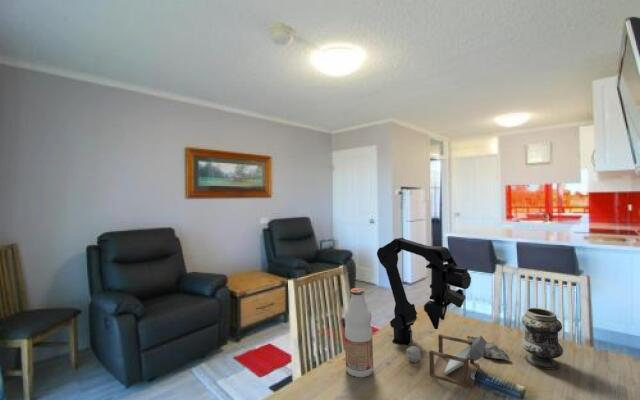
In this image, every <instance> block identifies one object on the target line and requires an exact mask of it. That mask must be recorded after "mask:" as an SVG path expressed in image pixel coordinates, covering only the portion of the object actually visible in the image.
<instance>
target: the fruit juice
mask: <svg viewBox="0 0 640 400" xmlns="http://www.w3.org/2000/svg"><path fill="white" fill-rule="evenodd" d="M365 294H366V290H365V289H364V288H361V287H354V288H351V289H350V296H351V297H350V300H349V305H348V307H347V308H346V309H345V312H344V319H345V322H346V325H345V328H344V344H345V345H344V349H345V350H344V352H345V370H346V372H347V374H349V376H352V377H354V376H355V378H365V377H369V376H370V375H372V373H373V371H374V351H373V350H374V349H373V346H374V345H373V342H374V341H373V328H372V325H371V322H372V311H371V310H370V308H369V306H368V303H367V301H366V298H365Z"/></svg>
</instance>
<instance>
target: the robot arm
mask: <svg viewBox="0 0 640 400" xmlns="http://www.w3.org/2000/svg"><path fill="white" fill-rule="evenodd" d="M402 251H405V252H409V253H411V254H415V255H417V256H419V257H422V258H424V259H425V260H426V261H427V262H429V263H428V264H427V265H425V268H426V269H430V272H431V273H430V274H431V275H430V277H431V278H430V279H431V280H430V283H429V289H431V290H430V292H431V293H430V295H429V300H428V301H426V302H425V304H423V311H424V312H425V313H426V315H427V316H428V319H429V320H430V322H431V324H432V326H433V329H435V330H438V329H439V325H440V320H441V321H444V320H445V318H446V314H447V313H446V312H447V310H448V307H449V305H451V304H453V305H455V306H456V307H457V308H462V307H463V304H464V302H465V300H466V298H467V296H466V295H465V294H464V290H467V289H469V288H470V286H471V282H472V277H471V274H470V273H469V272H468V270H469V269H468V268H465V267H459V266H458V264H457V262H456V260H455V259H454V258H453V256H452V254H451V251H450V250H449V248H448V247H446V246H441V245H440V246H439V245H438V246H437V245H426V244H422V243H420V242H417V241H416V242H415V241H414V240H413V241H412V240H410V239H405V238H404V237H398V238H394V239H393V240H392V241H390V242H389V243H387V244H385V245H384V246H382V247H379V248H378V249H377V251H376V256H377V258H378V260H379V261H378V262H379V263H380V264H381V266H383V268H384V269H385V272H386V275H387V279H388V281H389V285H390V289H391V292H392V296H393V299H394V302H395V304H394V310H393V312H394V313H393V314H394V318H392V319H391V320H389V324H390V327H391V328H392V329H393V339H392V343H395V344H399V345H403V346H410V344H411V343H412V341H413V330H412V328H411V327H412V326H414V325H415V322H416V320H417V318H418V316H417V315H418V312H417V311H416V305H415V304H414V303H412V304H411V303H410V301H408V299H407V295H406V291H405V288H404V285H403V281H402V277H401V274H400V271H399V269H398V262H399V255H398V254H399V253H401V252H402ZM451 286H452V287H456V288H457V289H456V290H455V289H454V290H453V289H451Z"/></svg>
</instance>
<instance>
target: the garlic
mask: <svg viewBox="0 0 640 400" xmlns="http://www.w3.org/2000/svg"><path fill="white" fill-rule="evenodd" d="M405 356H406V359H408V361H409V362H412V363H414V364H415V363H418V361H419V360H420V359H421V356H422V353H421V350H420V348H419V347H417V346H415V345H411V346H409V347H408V348H406V355H405Z"/></svg>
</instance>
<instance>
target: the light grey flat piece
mask: <svg viewBox="0 0 640 400" xmlns="http://www.w3.org/2000/svg"><path fill="white" fill-rule="evenodd" d="M486 342H487V341H486V340H485V338H484V337H483V336H482V335H480V336H478V337H477V338H476V339H475V340H474V341H473V344H472V345H470V346H467V347H465V348H464V349H461V351H459V352H457V353H456V354H454V355H453V356H456V357H460V358H465V359H468V361H470V360H471V359H472V358H473V360H474V362H476V361H478V360H480V359H482V358H483V357H484V356H483V355H484V351H485V346H486ZM462 365H464V362H460V361H456V360H452V359H450V360H449V362H448V365H447V367H446V369H445V372H444V373H445V374H446V375H447V374H448V373H450V372H452V371H453V370H455V369H457V368H458V367H460V366H462Z"/></svg>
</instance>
